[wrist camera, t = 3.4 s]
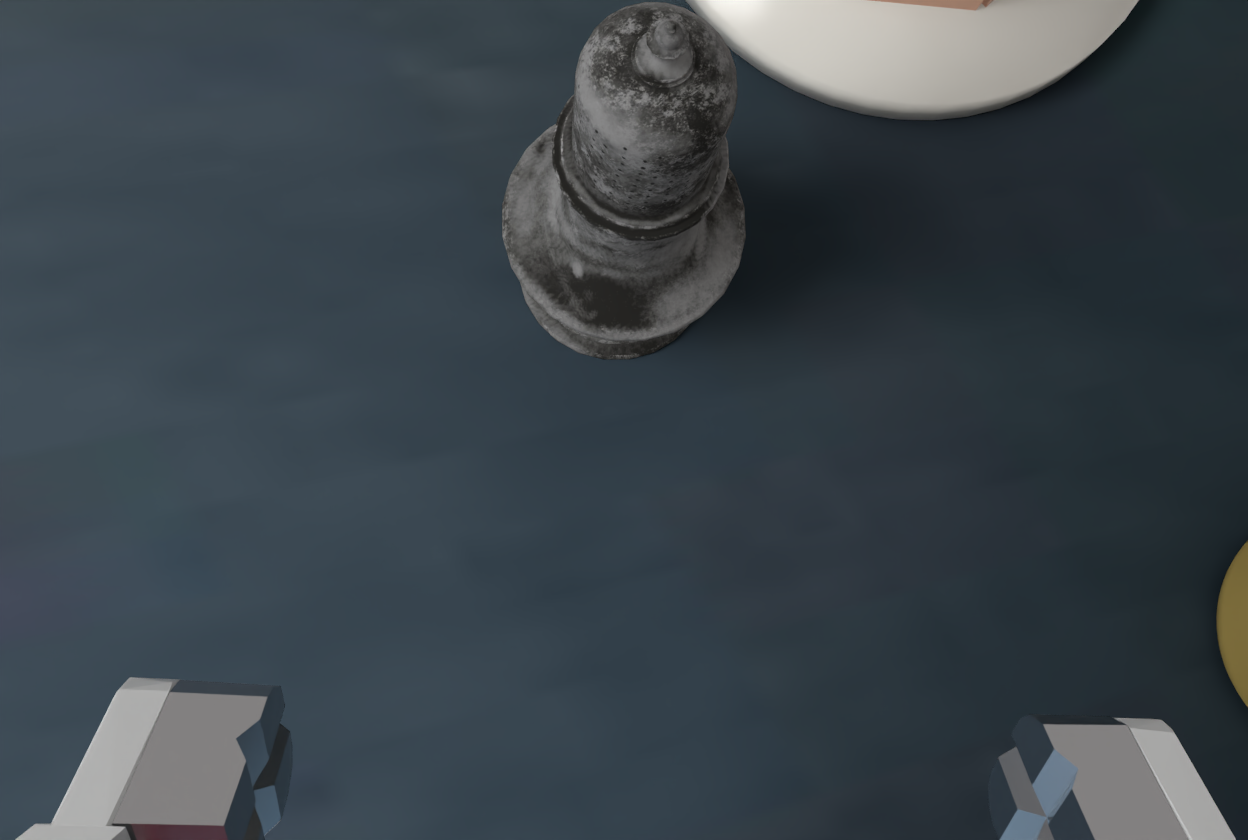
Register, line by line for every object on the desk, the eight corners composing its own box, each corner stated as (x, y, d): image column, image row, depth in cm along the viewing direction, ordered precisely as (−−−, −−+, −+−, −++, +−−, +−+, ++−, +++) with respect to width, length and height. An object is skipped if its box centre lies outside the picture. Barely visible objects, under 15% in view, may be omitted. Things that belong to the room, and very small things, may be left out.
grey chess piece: (667, 135, 27) (762, -198, 15) (753, 321, 26) (923, 126, 15) (473, 210, 26) (415, -80, 14) (558, 404, 26) (570, 268, 14)
